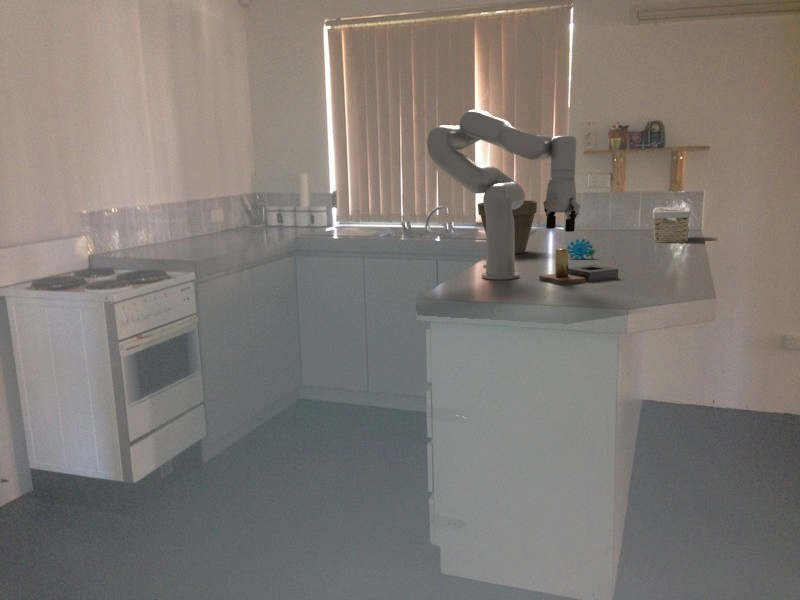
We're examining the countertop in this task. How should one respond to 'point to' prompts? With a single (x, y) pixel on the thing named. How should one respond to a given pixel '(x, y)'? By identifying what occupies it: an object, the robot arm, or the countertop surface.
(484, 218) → the plant pot
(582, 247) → the gear
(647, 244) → the countertop surface
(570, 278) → the board
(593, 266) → the grey square frame
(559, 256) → the key peg
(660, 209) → the storage basket
